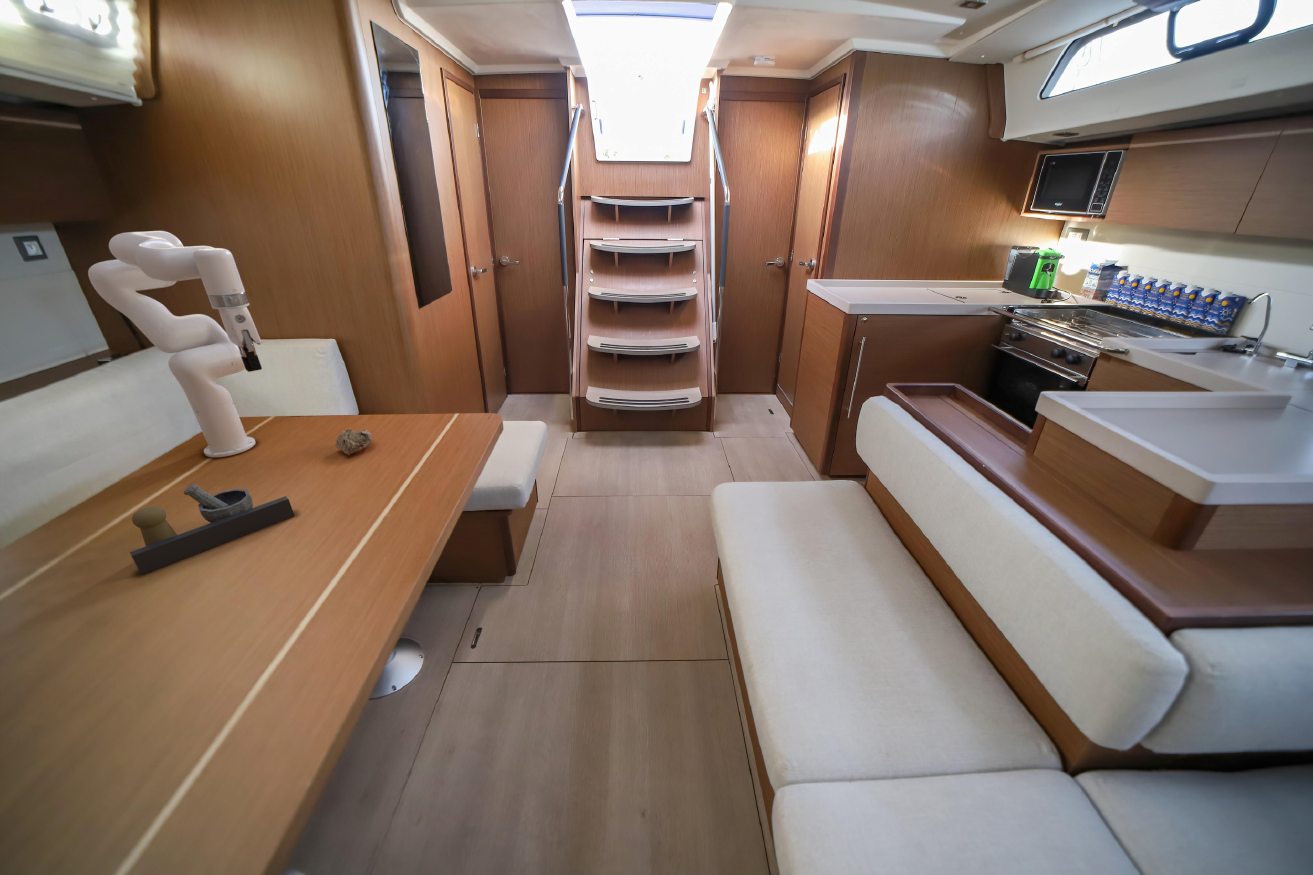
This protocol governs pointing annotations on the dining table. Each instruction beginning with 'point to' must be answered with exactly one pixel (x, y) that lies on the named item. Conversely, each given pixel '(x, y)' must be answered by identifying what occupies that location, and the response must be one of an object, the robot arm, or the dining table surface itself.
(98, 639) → the dining table surface
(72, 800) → the dining table surface
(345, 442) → the rough grey rock
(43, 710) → the dining table surface
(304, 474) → the dining table surface
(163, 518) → the cork
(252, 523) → the backstop rail
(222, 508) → the mortar and pestle
